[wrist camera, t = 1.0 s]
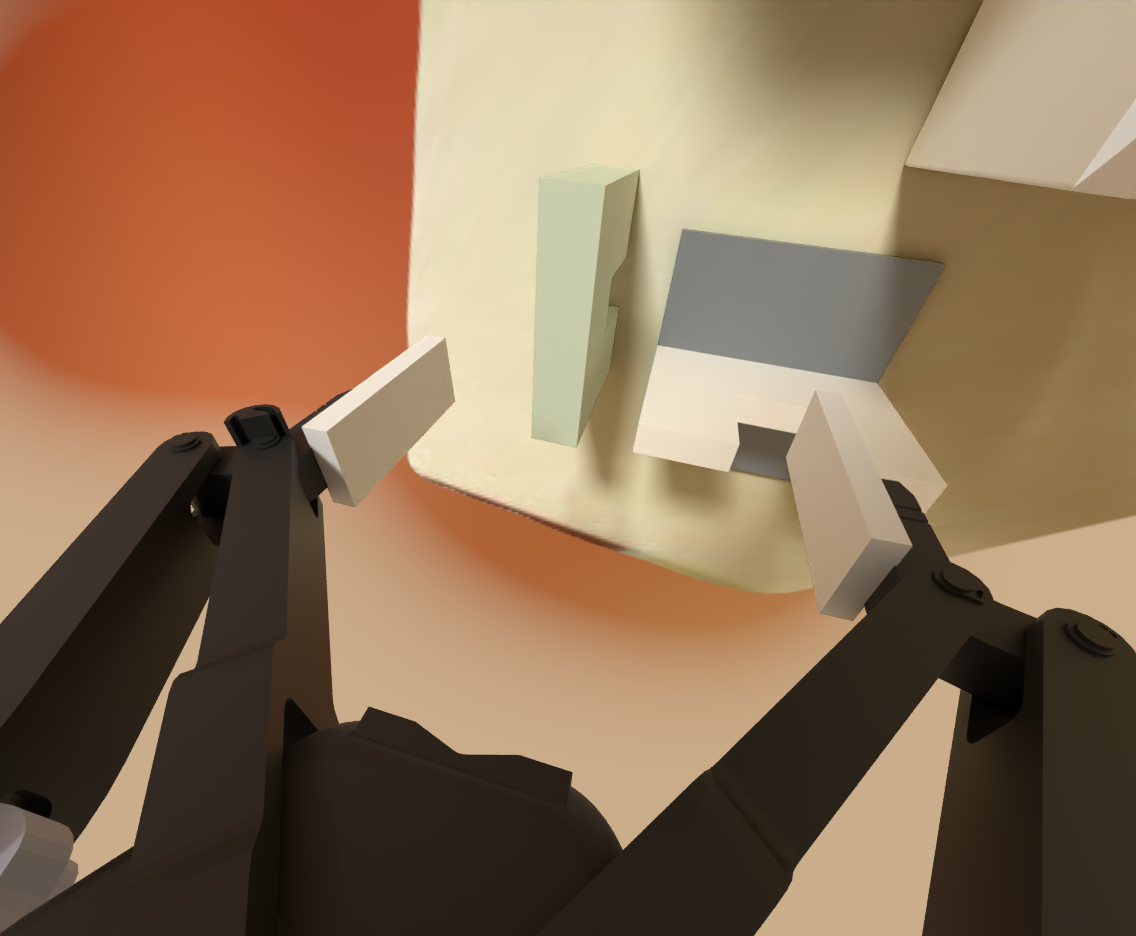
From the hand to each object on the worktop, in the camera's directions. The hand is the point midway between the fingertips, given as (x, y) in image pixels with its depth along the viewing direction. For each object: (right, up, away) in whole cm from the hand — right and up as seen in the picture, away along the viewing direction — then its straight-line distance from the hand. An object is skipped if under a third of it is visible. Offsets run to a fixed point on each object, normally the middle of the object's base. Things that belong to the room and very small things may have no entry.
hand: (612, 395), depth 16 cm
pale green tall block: (+1, +12, +17) cm, 20 cm away
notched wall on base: (+13, +5, +18) cm, 23 cm away
